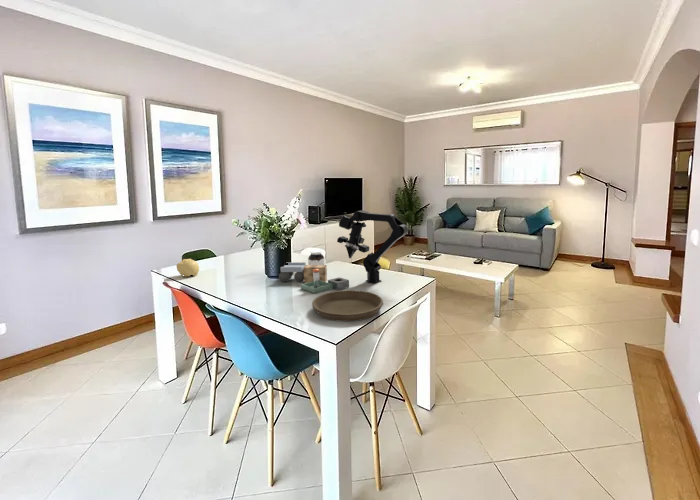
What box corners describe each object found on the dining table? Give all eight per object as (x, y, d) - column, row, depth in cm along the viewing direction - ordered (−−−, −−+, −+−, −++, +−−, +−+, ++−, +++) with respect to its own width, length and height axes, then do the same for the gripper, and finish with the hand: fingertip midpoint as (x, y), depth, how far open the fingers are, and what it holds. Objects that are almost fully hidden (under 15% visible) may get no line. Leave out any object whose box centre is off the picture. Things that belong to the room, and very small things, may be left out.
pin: (321, 287, 195) (320, 269, 193) (316, 289, 193) (315, 270, 190) (317, 286, 197) (316, 268, 195) (311, 287, 195) (311, 269, 193)
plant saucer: (363, 329, 142) (362, 318, 141) (298, 316, 157) (297, 306, 156) (394, 304, 168) (394, 295, 168) (336, 296, 183) (335, 287, 182)
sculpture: (187, 273, 237) (185, 256, 235) (203, 274, 233) (201, 257, 231) (174, 277, 226) (172, 260, 224) (191, 278, 223) (189, 261, 221)
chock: (326, 280, 212) (326, 265, 210) (325, 283, 206) (324, 267, 204) (306, 280, 213) (305, 265, 211) (304, 283, 207) (303, 267, 205)
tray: (332, 288, 194) (332, 284, 194) (314, 293, 187) (313, 289, 186) (319, 284, 203) (319, 280, 203) (301, 288, 196) (300, 284, 195)
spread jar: (320, 266, 245) (319, 249, 243) (329, 269, 236) (328, 252, 234) (304, 269, 238) (303, 251, 236) (313, 272, 229) (312, 254, 227)
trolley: (308, 276, 220) (308, 262, 219) (304, 282, 208) (304, 267, 207) (284, 276, 221) (283, 262, 220) (278, 282, 210) (277, 267, 208)
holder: (349, 287, 197) (349, 280, 196) (337, 290, 191) (337, 283, 191) (339, 284, 203) (339, 277, 202) (328, 287, 197) (327, 280, 197)
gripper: (376, 236, 209) (370, 261, 214) (349, 225, 218) (344, 250, 222) (367, 238, 200) (360, 265, 204) (339, 227, 208) (333, 253, 213)
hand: (350, 258), depth 211 cm, fingers closed
